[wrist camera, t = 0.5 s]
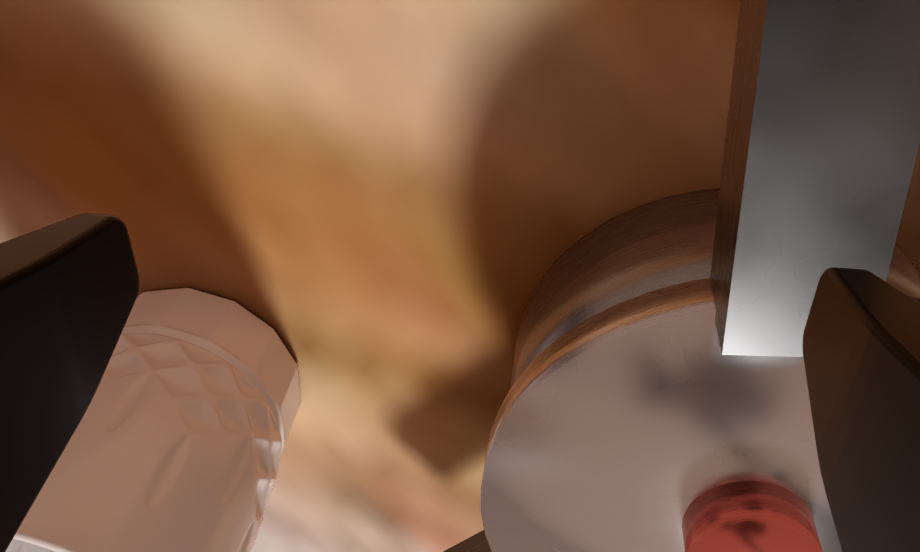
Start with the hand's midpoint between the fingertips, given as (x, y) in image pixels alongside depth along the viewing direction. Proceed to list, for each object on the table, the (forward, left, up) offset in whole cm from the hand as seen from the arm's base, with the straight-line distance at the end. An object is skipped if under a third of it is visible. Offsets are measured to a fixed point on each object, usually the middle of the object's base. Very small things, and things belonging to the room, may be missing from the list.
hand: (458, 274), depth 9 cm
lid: (-9, 0, -8) cm, 12 cm away
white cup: (-2, +16, -13) cm, 21 cm away
